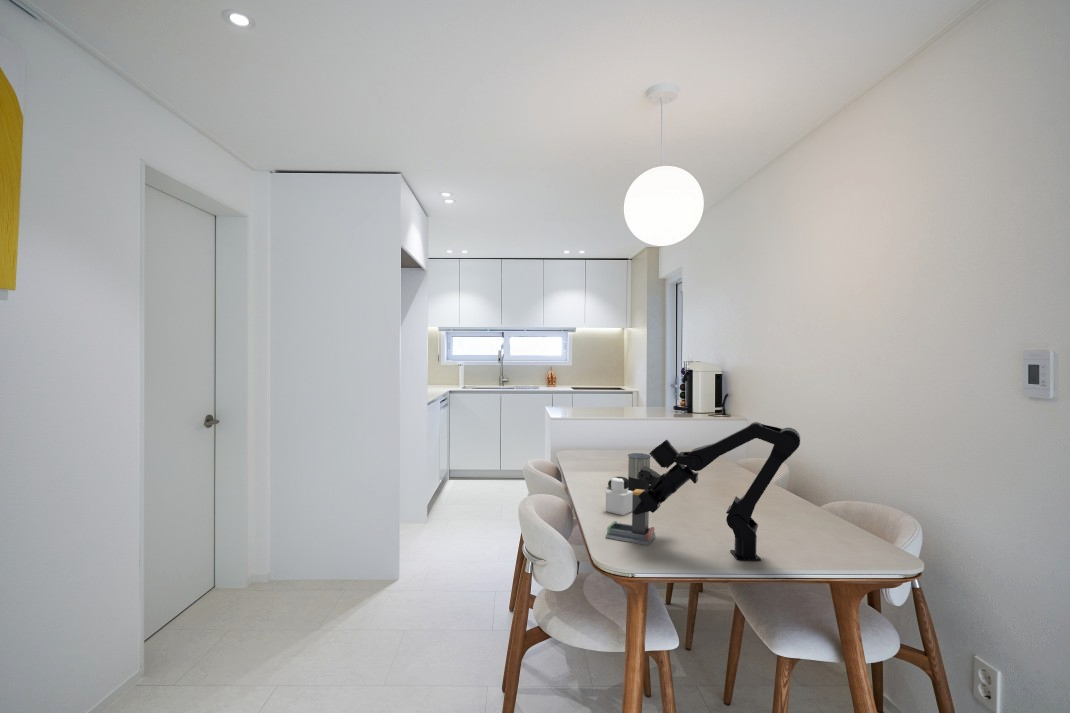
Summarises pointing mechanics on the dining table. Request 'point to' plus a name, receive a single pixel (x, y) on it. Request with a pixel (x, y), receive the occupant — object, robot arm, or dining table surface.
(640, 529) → the block
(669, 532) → the dining table surface
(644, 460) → the milk frother
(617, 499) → the medicine bottle
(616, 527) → the grey rectangular tray
